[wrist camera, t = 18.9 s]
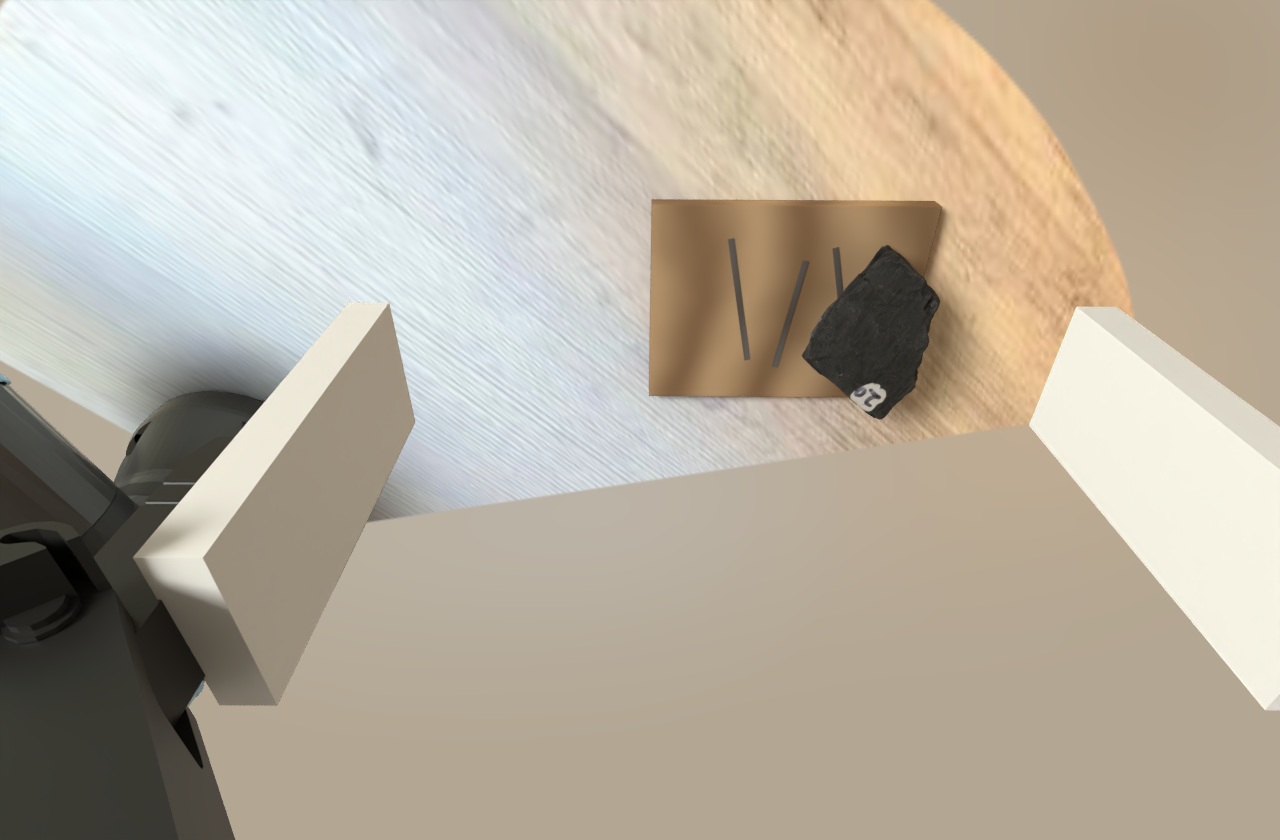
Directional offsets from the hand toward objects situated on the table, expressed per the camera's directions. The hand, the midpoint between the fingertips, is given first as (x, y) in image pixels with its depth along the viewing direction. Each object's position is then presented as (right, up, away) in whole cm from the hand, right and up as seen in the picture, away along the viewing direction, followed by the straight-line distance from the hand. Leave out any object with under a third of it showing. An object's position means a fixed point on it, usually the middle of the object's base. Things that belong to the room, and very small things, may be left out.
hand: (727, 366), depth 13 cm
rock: (+13, +6, +33) cm, 36 cm away
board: (+8, +7, +33) cm, 35 cm away
